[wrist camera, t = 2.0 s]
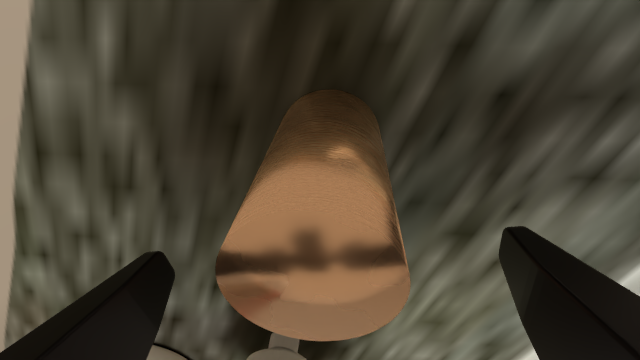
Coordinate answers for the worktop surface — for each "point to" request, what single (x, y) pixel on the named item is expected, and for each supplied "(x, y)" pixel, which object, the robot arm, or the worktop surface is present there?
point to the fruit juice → (163, 354)
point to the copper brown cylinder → (318, 228)
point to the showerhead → (279, 349)
